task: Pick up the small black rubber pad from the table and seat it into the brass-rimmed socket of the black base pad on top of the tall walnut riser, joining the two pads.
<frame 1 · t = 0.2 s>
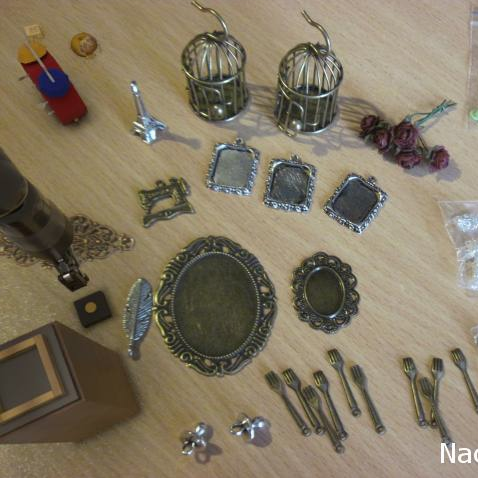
hand: (74, 259, 94), 20 cm above the table, tool pointing down, fingers open, 8 cm apart
fruit: (91, 54, 131), on the table
black pad: (95, 311, 110), on the table
pad stand: (99, 397, 105), on the table
red and blue toy: (62, 110, 125), on the table
alphabet block: (37, 39, 131), on the table
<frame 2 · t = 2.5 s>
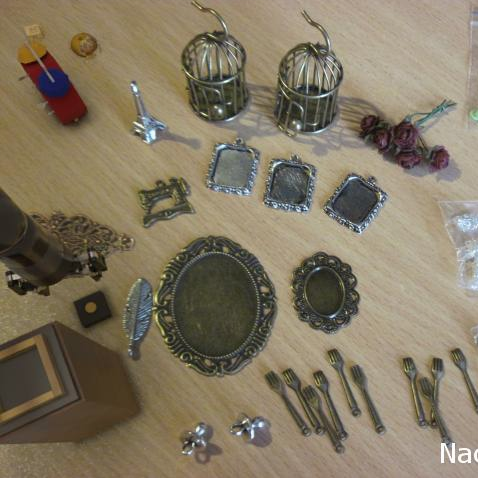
hand: (72, 283, 96), 16 cm above the table, tool pointing down, fingers open, 8 cm apart
nothing on the table moved.
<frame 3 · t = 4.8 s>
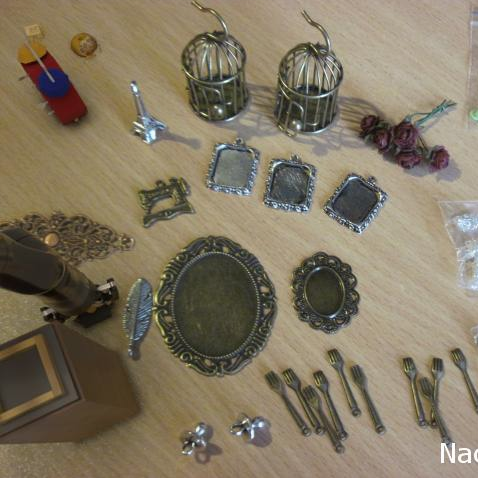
hand: (95, 310, 110), 1 cm above the table, tool pointing down, fingers closed on black pad, 5 cm apart
black pad: (95, 311, 110), on the table, touching gripper
everything else where it was.
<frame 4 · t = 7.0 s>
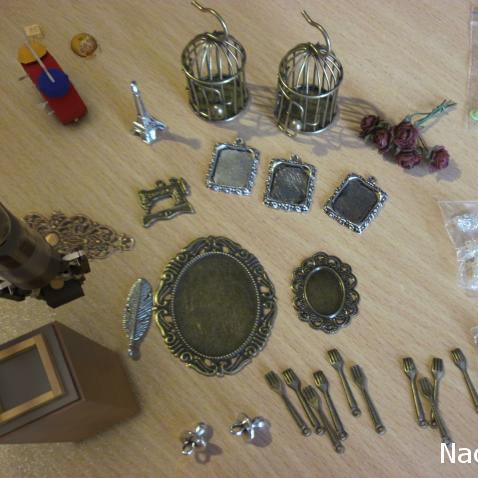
hand: (62, 287, 93), 19 cm above the table, tool pointing down, fingers closed on black pad, 5 cm apart
black pad: (64, 288, 94), point 18 cm above the table, touching gripper
everything else where it was.
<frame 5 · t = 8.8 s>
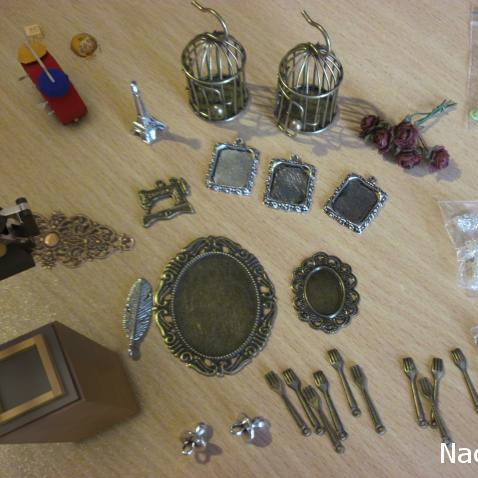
hand: (7, 255, 72), 40 cm above the table, tool pointing down, fingers closed on black pad, 5 cm apart
black pad: (9, 257, 73), point 39 cm above the table, touching gripper
everything else where it was.
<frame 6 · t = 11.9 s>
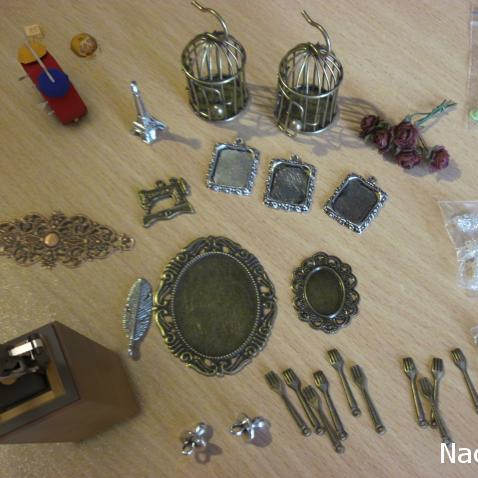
hand: (17, 378, 71), 37 cm above the table, tool pointing down, fingers closed on black pad, 5 cm apart
black pad: (19, 378, 71), point 36 cm above the table, touching gripper
everything else where it was.
when the fingers open (37 cm above the table, at t = 13.0 s): black pad stays where it is, resting on pad stand.
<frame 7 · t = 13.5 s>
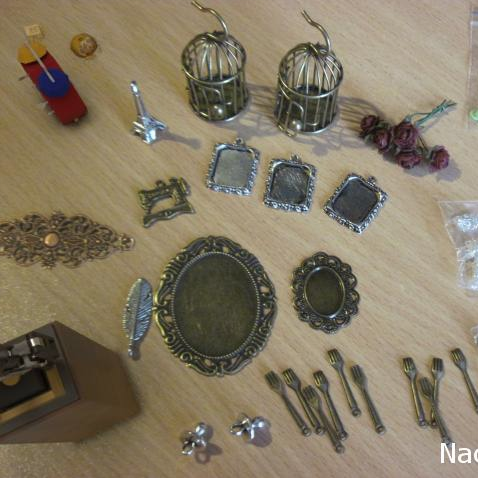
hand: (15, 377, 70), 37 cm above the table, tool pointing down, fingers open, 8 cm apart
black pad: (22, 379, 72), point 35 cm above the table, touching pad stand
everything else where it was.
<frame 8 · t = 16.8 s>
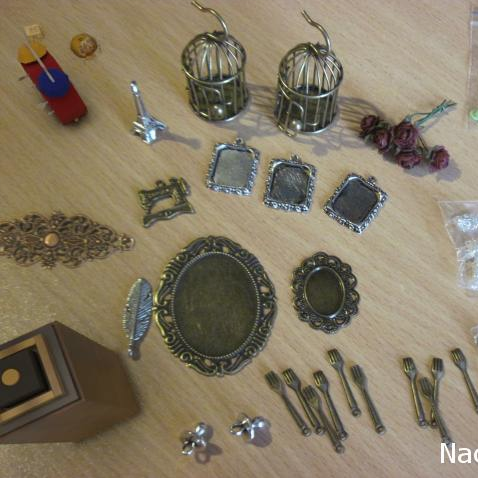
nothing on the table moved.
at the end: black pad 0.1 cm off-centre on the pad stand, point 35.0 cm above the pad stand's base; black pad tilted 0°; the gripper is holding nothing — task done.
